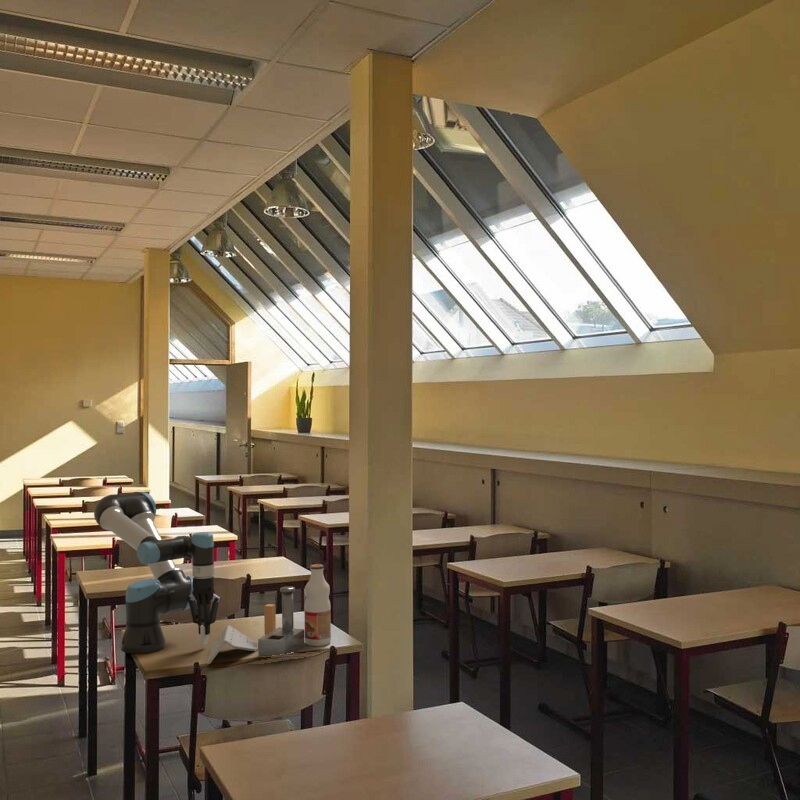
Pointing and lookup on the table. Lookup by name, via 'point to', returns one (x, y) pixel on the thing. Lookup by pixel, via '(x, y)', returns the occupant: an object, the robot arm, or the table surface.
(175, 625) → the table surface
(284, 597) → the grey post stand
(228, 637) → the bracket
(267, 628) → the tan wooden beam
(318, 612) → the fruit juice
